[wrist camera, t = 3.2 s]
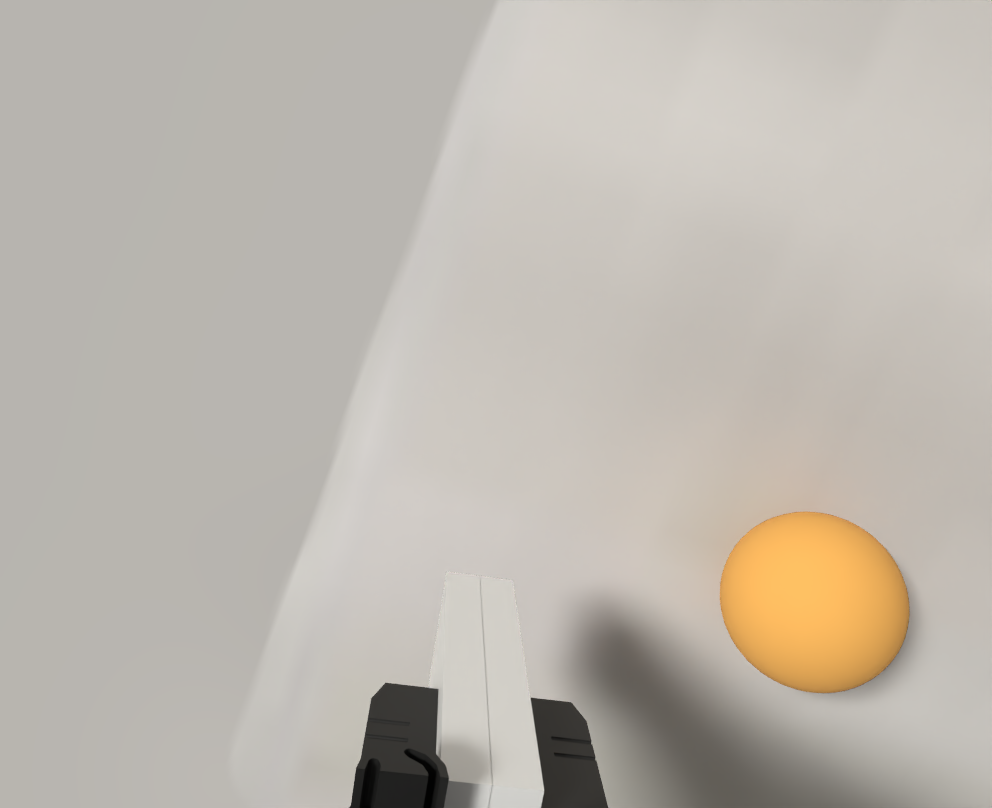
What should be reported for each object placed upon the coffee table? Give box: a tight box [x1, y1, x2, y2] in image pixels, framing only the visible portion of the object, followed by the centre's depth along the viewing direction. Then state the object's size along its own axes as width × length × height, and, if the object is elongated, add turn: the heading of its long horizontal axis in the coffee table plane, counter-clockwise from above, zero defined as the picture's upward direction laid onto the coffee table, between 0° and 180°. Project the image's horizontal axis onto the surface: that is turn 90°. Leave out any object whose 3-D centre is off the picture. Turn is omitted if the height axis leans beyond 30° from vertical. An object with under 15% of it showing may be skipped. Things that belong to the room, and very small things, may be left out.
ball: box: [720, 512, 909, 693], centre depth 22 cm, size 5×5×5 cm
